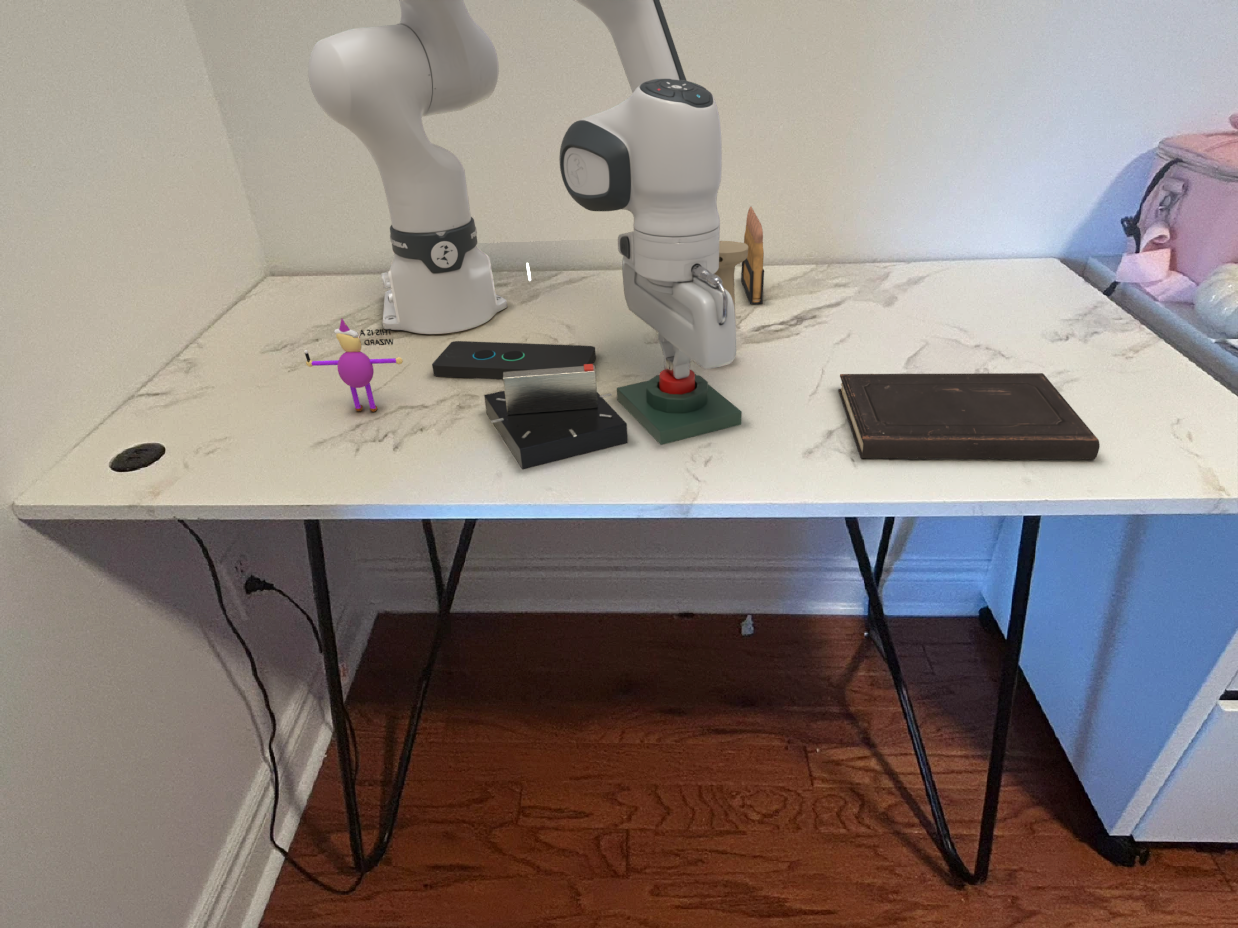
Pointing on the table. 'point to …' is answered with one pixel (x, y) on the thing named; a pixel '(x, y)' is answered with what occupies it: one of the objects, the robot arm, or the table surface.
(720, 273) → the handle
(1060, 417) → the hardcover book
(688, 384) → the button
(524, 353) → the smart home device
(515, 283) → the table surface
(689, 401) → the button box
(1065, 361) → the table surface
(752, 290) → the ammunition clip
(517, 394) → the knob
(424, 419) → the table surface
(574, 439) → the control panel
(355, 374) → the wizard figurine
